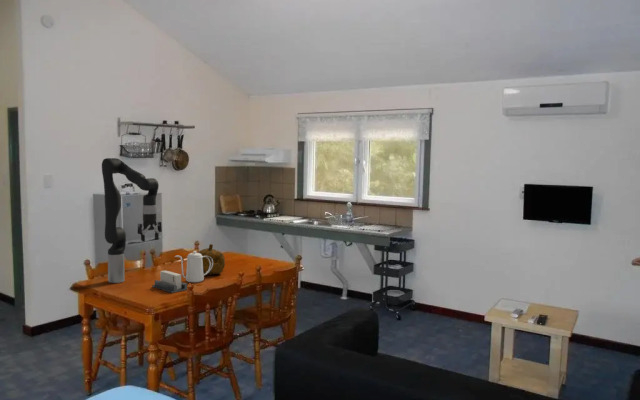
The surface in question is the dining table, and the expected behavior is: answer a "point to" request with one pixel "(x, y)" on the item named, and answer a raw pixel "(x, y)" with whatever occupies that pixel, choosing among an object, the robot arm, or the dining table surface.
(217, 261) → the decorative pumpkin
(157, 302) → the dining table surface
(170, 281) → the white rectangular block
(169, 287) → the bottom track
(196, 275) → the coffeepot
